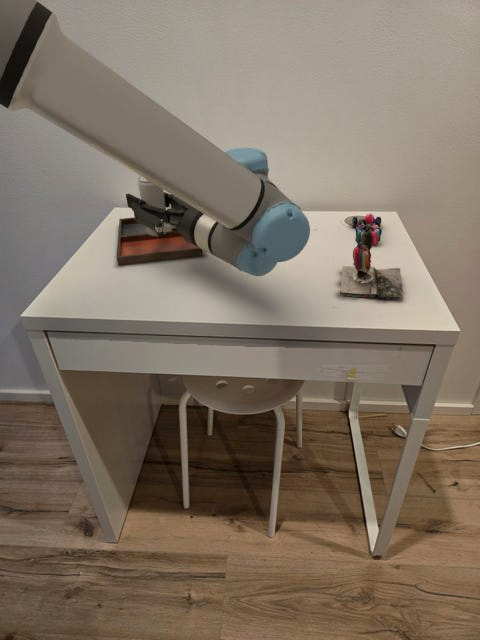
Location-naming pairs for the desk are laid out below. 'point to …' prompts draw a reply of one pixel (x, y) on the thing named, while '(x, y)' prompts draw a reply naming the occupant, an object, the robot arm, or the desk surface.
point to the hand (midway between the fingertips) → (139, 196)
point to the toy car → (362, 221)
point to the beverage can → (151, 197)
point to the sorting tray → (150, 245)
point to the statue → (369, 268)
